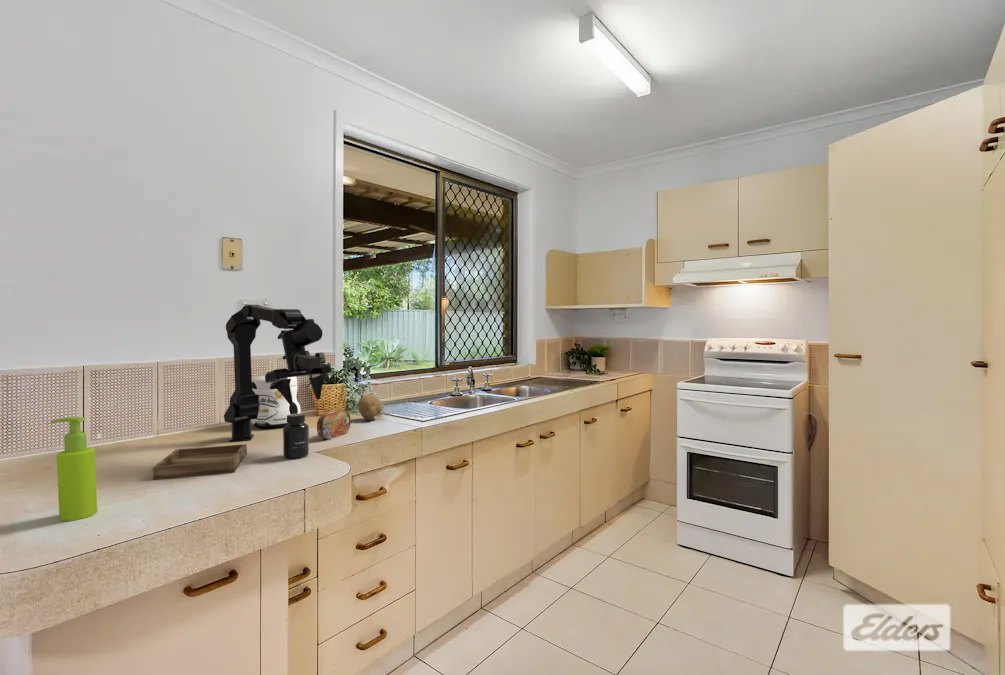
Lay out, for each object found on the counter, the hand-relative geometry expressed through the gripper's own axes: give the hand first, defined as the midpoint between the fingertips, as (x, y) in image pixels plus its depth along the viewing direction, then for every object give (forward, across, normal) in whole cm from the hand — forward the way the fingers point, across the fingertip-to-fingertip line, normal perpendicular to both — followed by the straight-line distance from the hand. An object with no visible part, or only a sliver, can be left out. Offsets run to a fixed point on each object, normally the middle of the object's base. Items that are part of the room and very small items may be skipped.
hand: (305, 401), depth 146 cm
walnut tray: (+11, -22, +17) cm, 30 cm away
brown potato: (+9, +43, +23) cm, 50 cm away
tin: (+12, +18, +14) cm, 26 cm away
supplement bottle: (+15, -3, +4) cm, 16 cm away
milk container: (+3, +19, +47) cm, 50 cm away
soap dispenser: (+15, -54, +5) cm, 56 cm away
